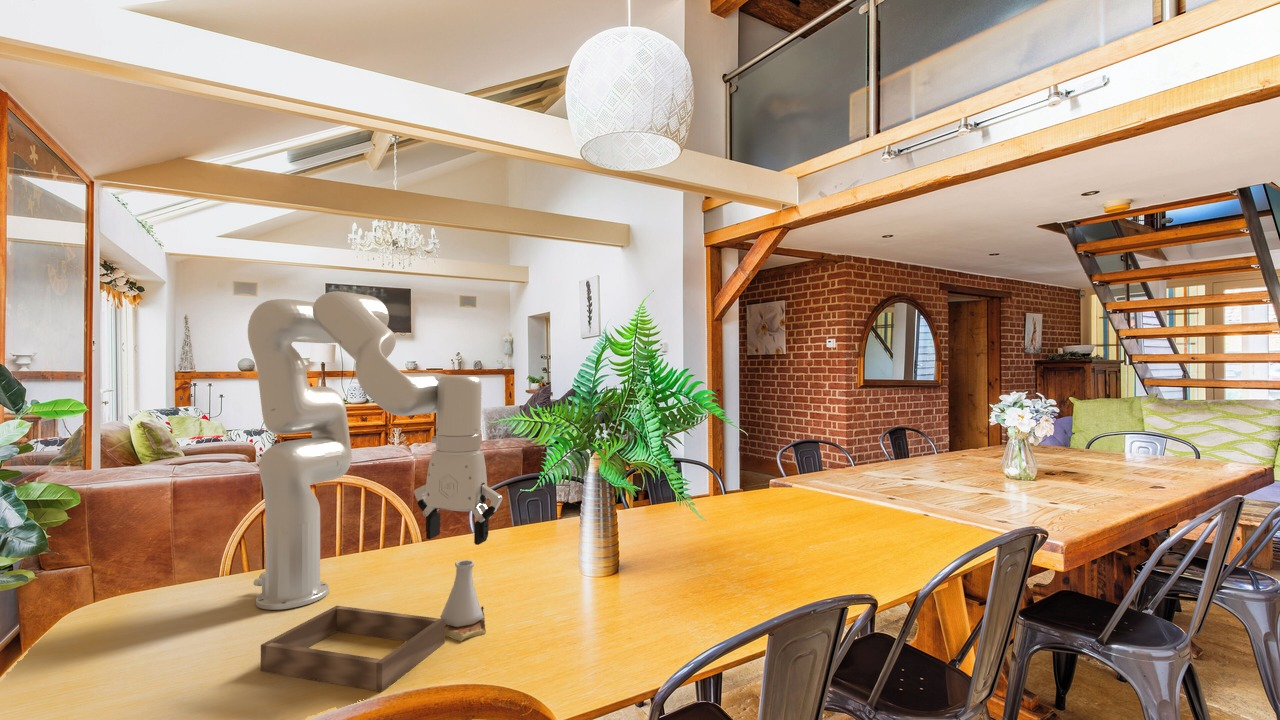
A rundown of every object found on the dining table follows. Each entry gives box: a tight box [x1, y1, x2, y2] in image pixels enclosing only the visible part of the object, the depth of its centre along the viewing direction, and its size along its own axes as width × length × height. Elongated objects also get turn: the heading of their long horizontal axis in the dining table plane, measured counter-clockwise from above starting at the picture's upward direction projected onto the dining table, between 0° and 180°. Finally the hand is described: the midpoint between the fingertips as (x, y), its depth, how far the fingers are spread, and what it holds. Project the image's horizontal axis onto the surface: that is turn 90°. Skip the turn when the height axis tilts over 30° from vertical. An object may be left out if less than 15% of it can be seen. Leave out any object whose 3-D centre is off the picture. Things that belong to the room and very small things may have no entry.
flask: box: [440, 559, 485, 627], centre depth 103 cm, size 7×7×10 cm
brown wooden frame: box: [260, 605, 446, 693], centre depth 93 cm, size 22×15×4 cm
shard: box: [445, 605, 487, 642], centre depth 103 cm, size 11×8×2 cm
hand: (456, 539), depth 103 cm, fingers open, 9 cm apart
